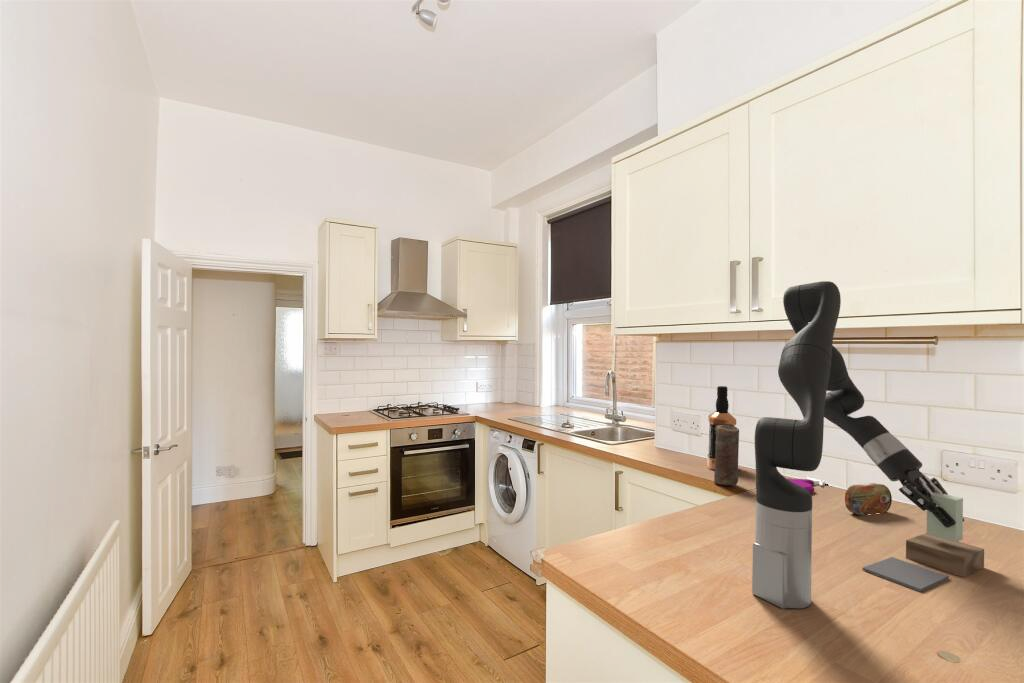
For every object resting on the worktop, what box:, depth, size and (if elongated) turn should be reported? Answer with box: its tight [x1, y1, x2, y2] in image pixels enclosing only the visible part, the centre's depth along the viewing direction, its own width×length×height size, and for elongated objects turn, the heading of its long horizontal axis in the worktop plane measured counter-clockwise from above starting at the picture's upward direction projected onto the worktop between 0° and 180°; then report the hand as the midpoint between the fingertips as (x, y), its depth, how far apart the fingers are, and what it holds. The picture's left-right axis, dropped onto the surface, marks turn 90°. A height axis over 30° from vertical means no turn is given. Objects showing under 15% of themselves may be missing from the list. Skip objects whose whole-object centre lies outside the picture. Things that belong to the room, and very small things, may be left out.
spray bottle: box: [787, 477, 826, 495], centre depth 162 cm, size 3×11×24 cm
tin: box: [844, 482, 893, 517], centre depth 138 cm, size 15×3×8 cm, turn 105°
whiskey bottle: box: [706, 385, 737, 471], centre depth 188 cm, size 10×10×32 cm
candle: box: [713, 425, 740, 487], centre depth 164 cm, size 8×7×20 cm
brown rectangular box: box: [905, 532, 985, 578], centre depth 106 cm, size 10×10×4 cm
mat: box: [862, 556, 950, 593], centre depth 100 cm, size 12×10×1 cm
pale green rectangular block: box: [926, 492, 964, 542], centre depth 106 cm, size 4×5×9 cm
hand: (955, 524), depth 104 cm, fingers closed on pale green rectangular block, 3 cm apart
